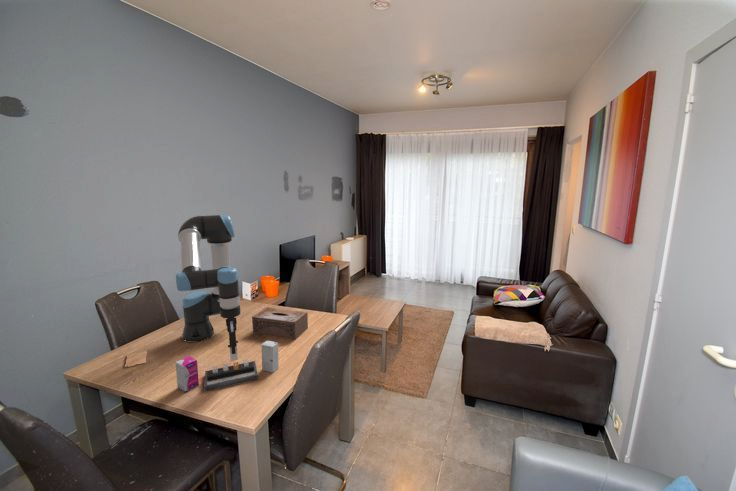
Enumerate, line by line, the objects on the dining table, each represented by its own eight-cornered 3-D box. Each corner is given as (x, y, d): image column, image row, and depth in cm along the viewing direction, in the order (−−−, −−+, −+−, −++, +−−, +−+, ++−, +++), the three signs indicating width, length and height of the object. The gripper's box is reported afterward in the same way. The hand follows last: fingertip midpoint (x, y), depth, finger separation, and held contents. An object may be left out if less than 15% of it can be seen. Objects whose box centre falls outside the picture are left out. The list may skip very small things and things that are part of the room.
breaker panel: (204, 391, 127) (203, 378, 126) (205, 375, 138) (204, 363, 137) (258, 379, 135) (257, 367, 134) (255, 365, 146) (254, 353, 145)
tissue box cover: (253, 333, 177) (252, 316, 176) (268, 323, 191) (267, 307, 189) (295, 340, 171) (294, 322, 169) (307, 328, 184) (307, 312, 182)
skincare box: (261, 370, 142) (260, 344, 140) (268, 365, 146) (266, 340, 144) (273, 373, 140) (272, 347, 138) (279, 367, 144) (278, 342, 142)
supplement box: (185, 393, 126) (182, 366, 124) (177, 388, 129) (174, 361, 127) (199, 385, 131) (197, 359, 129) (191, 380, 134) (188, 355, 132)
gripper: (219, 302, 136) (224, 354, 140) (220, 313, 124) (224, 369, 129) (238, 299, 139) (242, 350, 143) (240, 310, 127) (244, 365, 132)
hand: (234, 359), depth 136 cm, fingers closed
